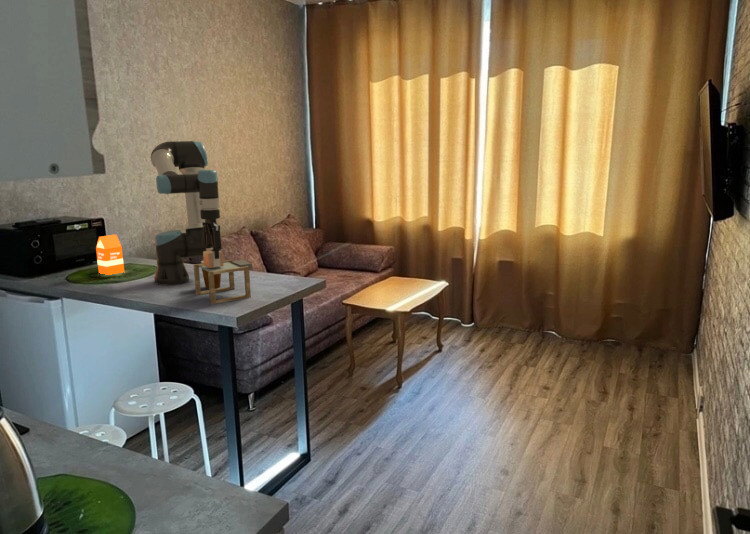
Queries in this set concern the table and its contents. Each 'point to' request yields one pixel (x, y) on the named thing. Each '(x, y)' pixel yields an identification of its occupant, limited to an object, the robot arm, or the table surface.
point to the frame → (213, 290)
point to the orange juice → (109, 255)
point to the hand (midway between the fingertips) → (213, 264)
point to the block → (211, 259)
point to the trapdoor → (230, 265)
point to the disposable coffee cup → (206, 279)
